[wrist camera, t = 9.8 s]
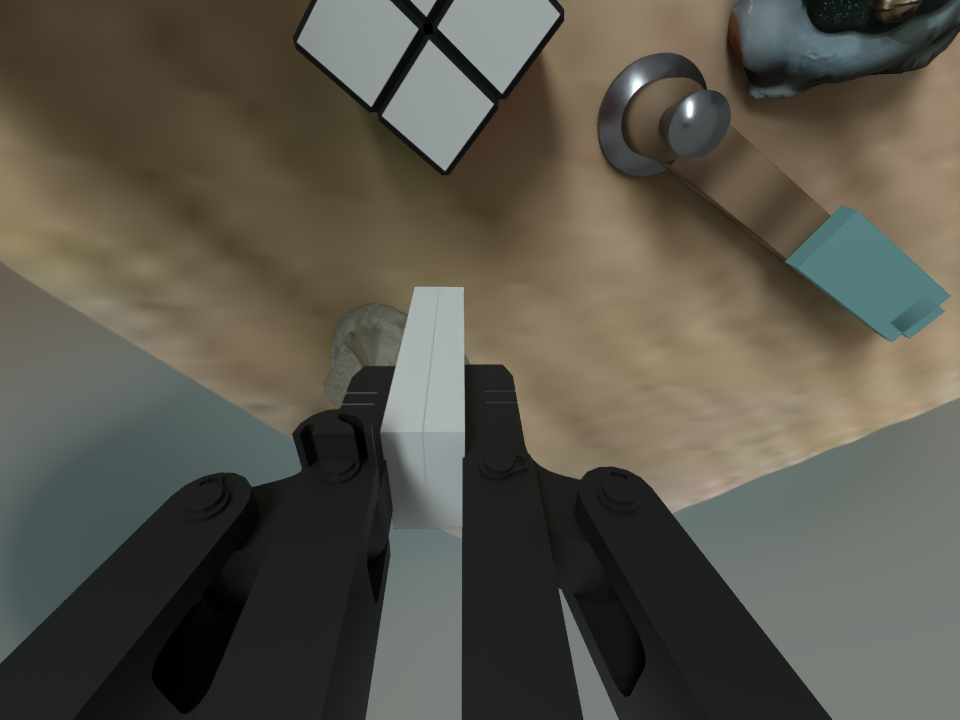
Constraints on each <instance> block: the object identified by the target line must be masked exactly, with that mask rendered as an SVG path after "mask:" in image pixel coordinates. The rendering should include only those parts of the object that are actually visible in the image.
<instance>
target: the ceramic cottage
mask: <svg viewBox="0 0 960 720" xmlns="http://www.w3.org/2000/svg"><path fill="white" fill-rule="evenodd" d="M407 318H408V315H406V314H404V313H402V312H400V311H398V310H397V309H395V308H393V307H391V306H388V305H380V304H368V305H365V306H362V307H358V308H356V309H354V311H351V312H349V313H348V314H347V316H346V317H345V318H344V319H343V321H342V322H341V323H340V325H339V327H338V330H337V332H336V334H335V337H334V340H333V343H332V346H331V359H332V364H333V367H332V369H331V370H330V372H329V374H328V376H327V378H326V380H325V382H324V390H325V393H326V394H327V396H328V397H329V398H330V400H331V401H332V403H333V404H334V405H335V406H336V409H340V407H341V406H342V401H343V399H344V396H345V394H346V393H347V392H346V391H347V389H348V386H349V383H350V381H351V378H352V377H353V376H354V375H355V374H356V373H357V372H358V371H360V370H361V369H362V368H363V367H364V366H396V364H397V360H398V356H399V351H400V347H401V343H402V339H403V335H404V331H405V326H406V322H407ZM464 365H470V364H469V361H468V359H467V357H466V356H465V354H464Z"/></svg>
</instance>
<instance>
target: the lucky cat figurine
mask: <svg viewBox="0 0 960 720" xmlns="http://www.w3.org/2000/svg"><path fill="white" fill-rule="evenodd" d="M959 32H960V0H738V3H737V4H736V6H735V7H734V9H733V10H732V13H731V16H730V21H729V30H728V39H729V42H730V45H731V47H732V49H733V52H734V54H735V56H736V58H737V61H738V64H739V66H740V67H744V68H745V70H746V73H747V76H748V78H749V82H750V86H749V90H748V93H749V94H750V95H751V96H753V97H754V98H755V99H758V98H776V99H778V98H787V97H792V96H795V95H798V94H799V93H801V92H804V91H806V90H807V89H809V88H811V87H813V86H815V85H819V84H822V83H839V82H843V81H849V80H853V79H856V78H859V77H864V76H868V75H877V74H898V73H903V72H907V71H913V70H917V69H920V68H923V67H926V66H927V65H928V64H930V62H931V61H932V60H933V59H934V58H936V57H937V56H938V55H939V54H940V53H941V52H943V51H944V50H946V49H947V47H948V46H949V45H950V44H951V42H952V41H953V40H954V38H955V37H956V35H957V34H958V33H959Z"/></svg>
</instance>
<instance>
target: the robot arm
mask: <svg viewBox="0 0 960 720" xmlns="http://www.w3.org/2000/svg"><path fill="white" fill-rule="evenodd" d="M346 392H347V393H346V394H345V396H344V399H343V401H342V406H341V407H340V409H334V410H326V411H324V412H321V413H318V414H315V415H313V416H311V417H309V418H308V419H306V420H305V421H303V422H302V423H300V424H299V426H298V427H297V428H296V430H295V431H294V432H293V433H292V435H293V438H294V442H295V445H296V449H297V452H298V456H299V459H300V463H301V466H302V470H301V472H300V473H298V474H296V475H294V476H291V477H288V478H285V479H282V480H278V481H275V482H270V483H267V484H263V485H259V486H255V487H251V485H250V484H249V482H248V481H247V479H246V478H245V477H243V476H240V475H238V474H236V473H216V474H212V475H208V476H204V477H201V478H199V479H197V480H195V481H193V482H191V483H189V484H187V485H185V486H184V487H183V488H181V489H180V490H179V491H177V492H176V493H175V494H174V495H172V496H171V497H170V498H169V499H168V500H167V501H166V502H165V503H164V504H163V505H162V506H161V507H160V508H159V509H158V510H157V511H156V512H155V513H154V514H153V515H152V516H151V517H150V518H149V519H148V520H147V521H146V522H145V523H144V524H142V525H141V526H140V527H139V528H138V529H137V530H136V531H135V532H134V533H133V534H132V535H131V536H130V537H129V538H128V539H127V540H126V541H125V542H124V543H123V544H122V545H121V546H120V547H119V548H118V549H117V550H116V551H115V552H114V553H113V554H112V555H111V556H110V557H109V558H108V559H107V560H106V561H105V562H104V563H103V564H102V565H101V566H100V567H99V568H98V569H97V570H95V571H94V572H93V573H92V574H91V575H90V576H89V577H88V578H87V579H86V580H85V581H84V582H83V583H82V584H81V585H80V586H79V587H78V588H77V589H76V590H75V591H74V592H73V593H72V594H71V595H70V596H69V597H68V598H67V599H66V600H65V601H64V602H63V603H62V604H61V605H60V606H59V607H58V608H57V609H56V610H55V611H54V612H53V613H52V614H51V615H50V616H49V617H48V618H46V620H44V622H42V623H41V624H40V625H39V626H38V627H37V628H36V629H35V630H34V631H33V632H32V633H31V634H30V635H29V636H28V637H27V638H26V639H25V640H24V641H23V642H22V643H21V644H20V645H19V646H18V647H17V648H16V649H15V650H14V651H13V652H12V653H11V654H10V655H9V656H8V657H7V658H6V659H5V660H4V661H3V662H2V663H1V664H0V720H365V719H366V712H367V705H368V699H369V692H370V686H371V678H372V672H373V666H374V658H375V652H376V645H377V639H378V632H379V626H380V619H381V612H382V606H383V600H384V593H385V586H386V580H387V573H388V567H389V560H390V543H389V530H390V524H391V518H392V521H393V529H421V528H422V529H424V528H425V529H426V528H462V720H583V716H582V710H581V705H580V700H579V695H578V689H577V684H576V679H575V674H574V668H573V663H572V658H571V653H570V647H569V642H568V637H567V631H566V627H565V622H564V616H563V611H562V605H561V600H560V595H559V589H562V592H563V594H564V596H565V599H566V601H567V603H568V605H569V607H570V610H571V612H572V614H573V617H574V619H575V621H576V623H577V626H578V628H579V630H580V632H581V635H582V637H583V639H584V641H585V643H586V646H587V648H588V651H589V653H590V655H591V657H592V659H593V662H594V664H595V666H596V669H597V671H598V673H599V675H600V678H601V680H602V682H603V684H604V687H605V689H606V691H607V694H608V696H609V698H610V700H611V703H612V705H613V707H614V709H615V712H616V714H617V716H618V718H619V720H832V719H831V717H830V716H829V715H828V714H827V712H826V711H825V710H824V708H823V707H822V706H821V704H820V703H819V702H818V701H817V699H816V698H815V697H814V696H813V694H812V693H811V692H810V690H809V689H808V688H807V686H806V685H805V684H804V683H803V681H802V680H801V679H800V678H799V676H798V675H797V674H796V672H795V671H794V670H793V669H792V667H791V666H790V665H789V663H788V662H787V661H786V660H785V658H784V657H783V656H782V654H781V653H780V652H779V651H778V649H777V648H776V647H775V645H774V644H773V643H772V642H771V640H770V639H769V638H768V636H767V635H766V634H765V633H764V631H763V630H762V629H761V628H760V626H759V625H758V624H757V622H756V621H755V620H754V619H753V617H752V616H751V615H750V613H749V612H748V611H747V610H746V608H745V607H744V606H743V604H742V603H741V602H740V601H739V599H738V598H737V597H736V595H735V594H734V593H733V592H732V590H731V589H730V588H729V586H728V585H727V584H726V583H725V581H724V580H723V579H722V577H721V576H720V575H719V574H718V572H717V571H716V570H715V569H714V567H713V566H712V565H711V563H710V562H709V561H708V560H707V558H706V557H705V556H704V554H703V553H702V552H701V551H700V549H699V548H698V547H697V546H696V544H695V543H694V542H693V540H692V539H691V538H690V537H689V535H688V534H687V533H686V531H685V530H684V529H683V527H682V526H681V525H680V524H679V522H678V521H677V520H676V519H675V517H674V516H673V515H672V513H671V512H670V511H669V510H668V508H667V507H666V506H665V504H664V503H663V502H662V501H661V499H660V498H659V497H658V495H657V494H656V493H655V492H654V490H653V489H652V488H651V487H650V486H649V485H648V484H647V483H646V482H645V481H644V480H643V479H642V478H641V477H639V476H637V475H635V474H633V473H631V472H629V471H628V470H624V469H620V468H616V467H598V468H596V469H593V470H591V471H588V472H587V473H586V474H585V475H584V476H583V478H582V479H581V480H578V479H574V478H570V477H566V476H562V475H559V474H556V473H553V472H550V471H548V470H546V469H545V468H543V467H541V466H540V465H538V464H537V463H536V462H535V461H534V460H533V459H532V458H531V456H530V455H529V454H528V452H527V449H526V446H525V442H524V436H523V431H522V425H521V420H520V414H519V408H518V403H517V397H516V392H515V386H514V380H513V376H512V375H511V373H510V372H509V371H508V370H507V369H506V368H505V367H504V366H503V365H464V287H415V289H414V293H413V297H412V302H411V306H410V310H409V314H408V318H407V322H406V326H405V331H404V335H403V339H402V343H401V347H400V351H399V356H398V360H397V364H396V366H364V367H363V368H362V369H361V370H360V371H358V372H357V373H356V374H355V375H354V376H353V377H352V378H351V381H350V383H349V386H348V389H347V391H346ZM558 588H559V589H558Z"/></svg>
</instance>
